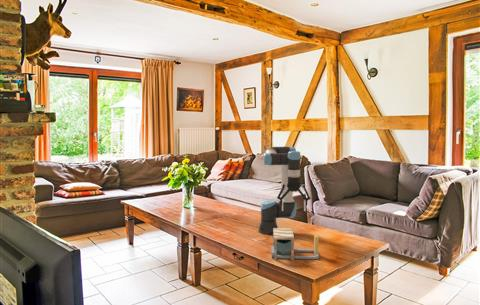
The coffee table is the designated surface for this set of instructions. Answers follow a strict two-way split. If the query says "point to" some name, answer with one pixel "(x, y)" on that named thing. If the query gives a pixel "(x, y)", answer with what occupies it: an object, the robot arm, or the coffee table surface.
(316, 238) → the frame with square tube
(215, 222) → the coffee table surface
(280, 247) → the flower pot
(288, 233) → the shelf
